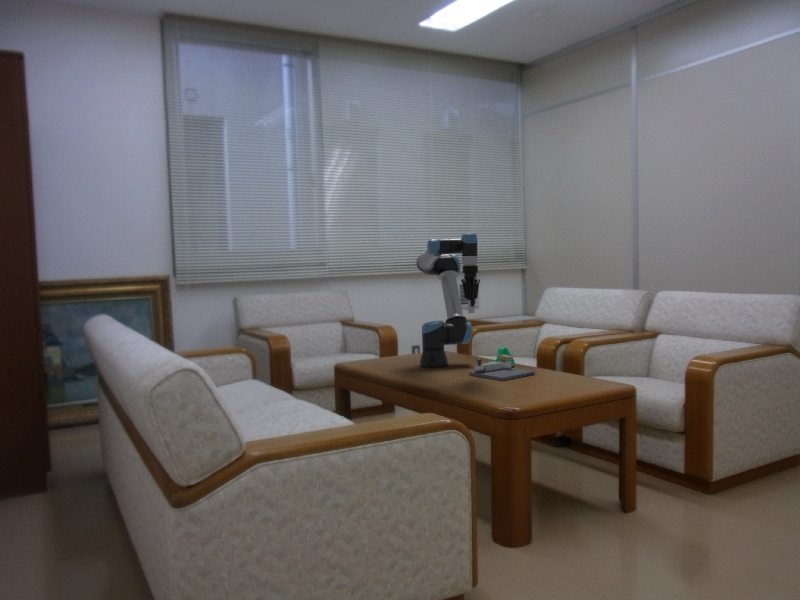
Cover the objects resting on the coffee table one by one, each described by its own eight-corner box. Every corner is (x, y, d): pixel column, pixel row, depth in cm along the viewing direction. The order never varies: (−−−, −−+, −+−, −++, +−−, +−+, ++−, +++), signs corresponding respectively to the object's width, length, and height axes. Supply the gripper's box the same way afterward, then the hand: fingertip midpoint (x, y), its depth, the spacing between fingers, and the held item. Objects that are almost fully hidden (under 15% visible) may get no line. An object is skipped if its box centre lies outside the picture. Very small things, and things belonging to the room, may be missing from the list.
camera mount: (505, 364, 347) (504, 345, 346) (514, 366, 340) (514, 346, 339) (487, 367, 341) (486, 347, 340) (496, 369, 334) (495, 349, 333)
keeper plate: (469, 375, 319) (468, 359, 318) (501, 369, 332) (501, 354, 332) (502, 380, 301) (502, 364, 301) (535, 374, 315) (534, 358, 314)
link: (478, 372, 315) (478, 360, 314) (472, 371, 319) (471, 359, 319) (511, 367, 325) (511, 356, 325) (505, 366, 329) (505, 354, 329)
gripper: (484, 264, 320) (485, 313, 321) (468, 264, 331) (469, 311, 333) (471, 265, 316) (472, 314, 318) (456, 265, 327) (457, 312, 329)
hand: (471, 313), depth 325 cm, fingers closed
